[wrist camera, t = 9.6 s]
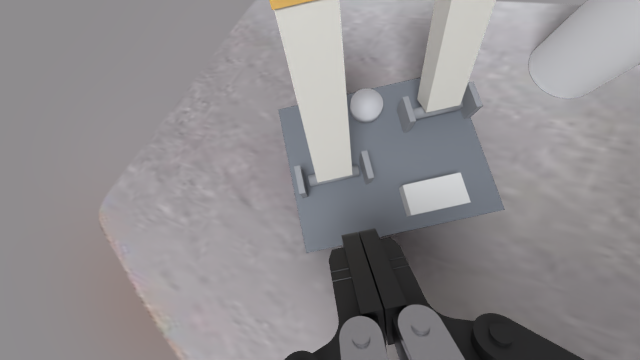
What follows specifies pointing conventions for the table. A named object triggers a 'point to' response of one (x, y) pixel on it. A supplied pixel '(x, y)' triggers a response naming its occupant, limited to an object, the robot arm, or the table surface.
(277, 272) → the table surface
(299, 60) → the amber lever
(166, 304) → the table surface
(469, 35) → the black lever
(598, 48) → the cylindrical container
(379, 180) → the switch panel
